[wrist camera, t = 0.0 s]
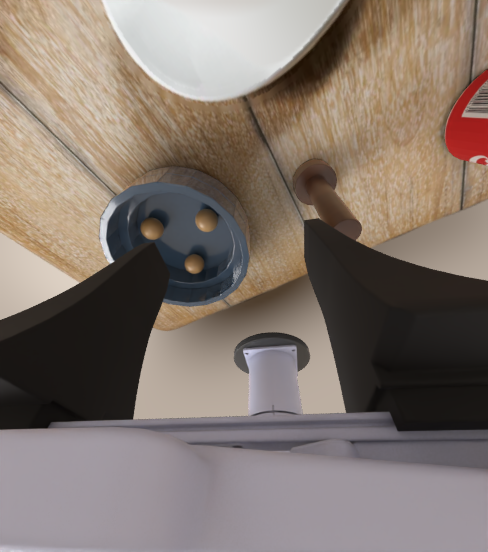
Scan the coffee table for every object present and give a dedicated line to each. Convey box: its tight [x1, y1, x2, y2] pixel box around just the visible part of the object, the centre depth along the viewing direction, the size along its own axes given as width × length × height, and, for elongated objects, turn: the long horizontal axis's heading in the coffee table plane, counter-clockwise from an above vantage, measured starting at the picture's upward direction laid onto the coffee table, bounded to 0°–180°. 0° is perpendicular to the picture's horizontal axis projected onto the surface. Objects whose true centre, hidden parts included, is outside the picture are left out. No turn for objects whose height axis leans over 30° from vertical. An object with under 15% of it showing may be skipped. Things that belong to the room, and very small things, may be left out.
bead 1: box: [140, 218, 164, 240], centre depth 21 cm, size 2×2×2 cm
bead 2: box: [185, 254, 204, 274], centre depth 23 cm, size 2×2×2 cm
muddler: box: [293, 159, 362, 240], centre depth 15 cm, size 3×3×9 cm
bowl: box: [99, 166, 250, 307], centre depth 21 cm, size 12×12×4 cm
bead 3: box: [195, 209, 218, 232], centre depth 20 cm, size 2×2×2 cm
